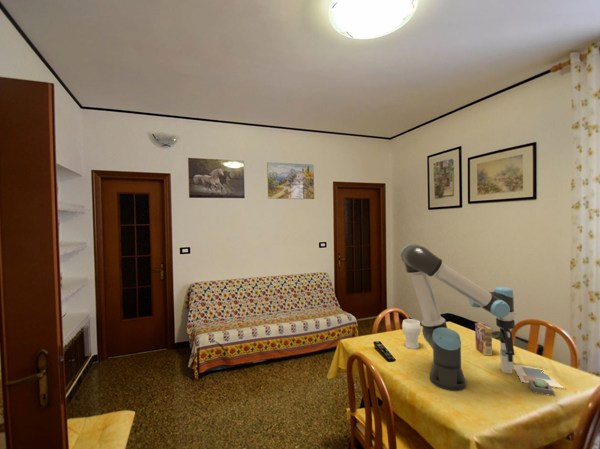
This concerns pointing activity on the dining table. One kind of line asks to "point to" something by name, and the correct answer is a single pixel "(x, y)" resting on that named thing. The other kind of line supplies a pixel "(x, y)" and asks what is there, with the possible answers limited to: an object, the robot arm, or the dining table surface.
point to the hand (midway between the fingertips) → (507, 361)
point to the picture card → (534, 375)
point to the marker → (504, 362)
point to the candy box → (483, 339)
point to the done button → (540, 383)
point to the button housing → (541, 390)
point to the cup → (411, 332)
